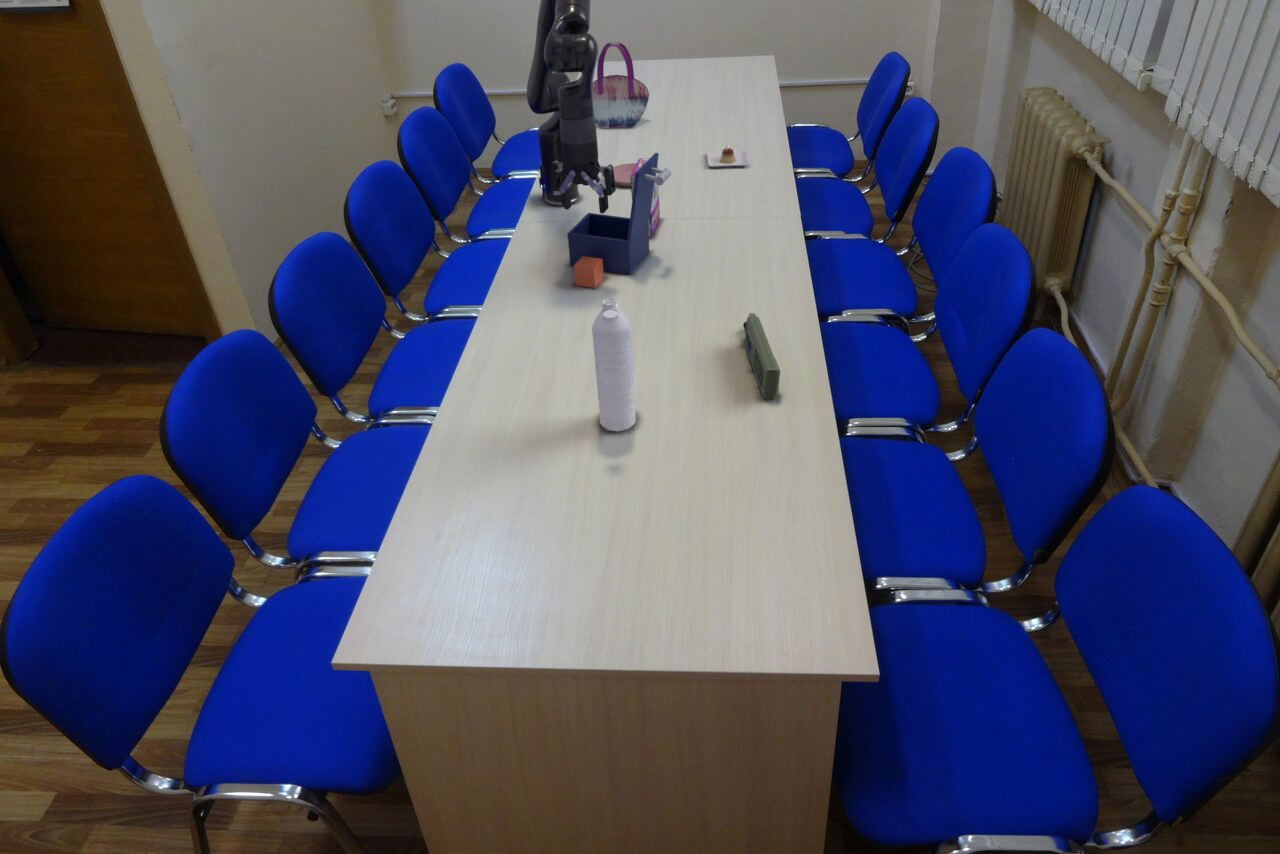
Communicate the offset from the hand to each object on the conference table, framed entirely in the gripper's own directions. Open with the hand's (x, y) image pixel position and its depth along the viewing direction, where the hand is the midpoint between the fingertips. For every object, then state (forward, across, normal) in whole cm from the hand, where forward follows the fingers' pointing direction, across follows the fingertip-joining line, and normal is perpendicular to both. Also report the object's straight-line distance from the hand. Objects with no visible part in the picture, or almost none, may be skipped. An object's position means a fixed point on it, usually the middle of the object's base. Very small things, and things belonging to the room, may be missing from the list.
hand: (585, 210), depth 188 cm
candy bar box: (+17, -2, -30) cm, 34 cm away
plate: (+17, +13, -59) cm, 63 cm away
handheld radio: (+18, -45, +22) cm, 53 cm away
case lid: (0, -9, -11) cm, 14 cm away
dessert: (+17, -9, -79) cm, 81 cm away
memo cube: (+17, 0, +1) cm, 17 cm away
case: (+17, 0, -11) cm, 20 cm away
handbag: (+16, +36, -102) cm, 109 cm away
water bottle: (+18, -27, +49) cm, 59 cm away
